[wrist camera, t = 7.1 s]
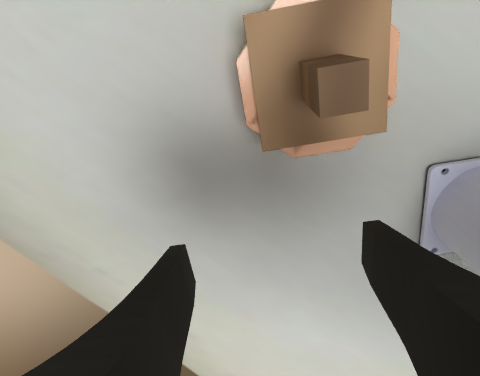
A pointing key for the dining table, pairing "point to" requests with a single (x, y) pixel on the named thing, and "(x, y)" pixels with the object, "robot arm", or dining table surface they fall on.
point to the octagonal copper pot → (315, 148)
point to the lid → (320, 70)
